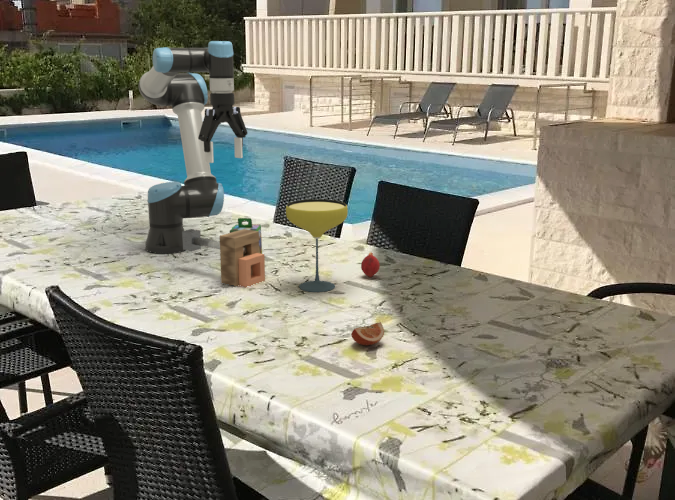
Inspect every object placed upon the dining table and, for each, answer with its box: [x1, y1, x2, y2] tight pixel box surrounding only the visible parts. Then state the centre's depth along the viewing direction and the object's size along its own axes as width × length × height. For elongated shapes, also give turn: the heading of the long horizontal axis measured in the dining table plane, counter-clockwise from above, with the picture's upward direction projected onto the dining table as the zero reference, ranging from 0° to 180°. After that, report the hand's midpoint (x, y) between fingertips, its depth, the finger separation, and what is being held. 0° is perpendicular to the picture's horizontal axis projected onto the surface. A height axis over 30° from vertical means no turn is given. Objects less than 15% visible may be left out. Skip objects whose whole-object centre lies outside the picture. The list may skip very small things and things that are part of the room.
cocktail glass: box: [285, 198, 349, 293], centre depth 224 cm, size 18×18×25 cm
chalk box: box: [229, 217, 263, 254], centre depth 255 cm, size 9×9×15 cm
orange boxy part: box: [238, 253, 266, 288], centre depth 230 cm, size 3×8×8 cm, turn 146°
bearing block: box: [219, 229, 259, 287], centre depth 232 cm, size 6×11×15 cm, turn 146°
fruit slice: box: [350, 321, 385, 346], centre depth 182 cm, size 8×7×5 cm
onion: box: [360, 251, 381, 278], centre depth 236 cm, size 6×6×8 cm
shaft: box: [182, 228, 247, 254], centre depth 237 cm, size 24×4×6 cm, turn 56°
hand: (224, 160), depth 242 cm, fingers open, 13 cm apart
